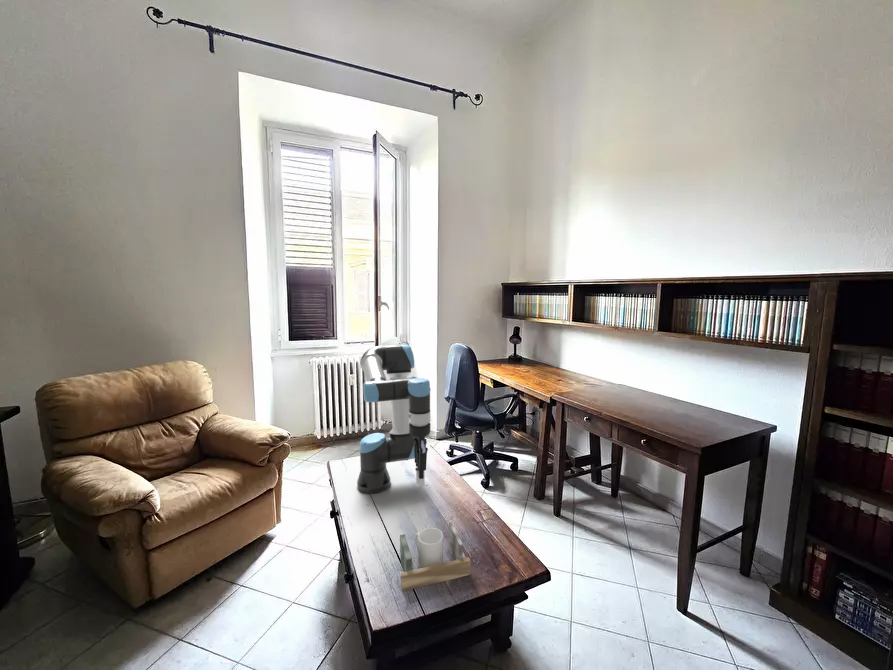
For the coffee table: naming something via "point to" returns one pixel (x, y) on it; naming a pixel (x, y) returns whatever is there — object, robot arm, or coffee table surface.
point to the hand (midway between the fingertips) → (420, 485)
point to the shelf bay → (435, 572)
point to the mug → (429, 547)
